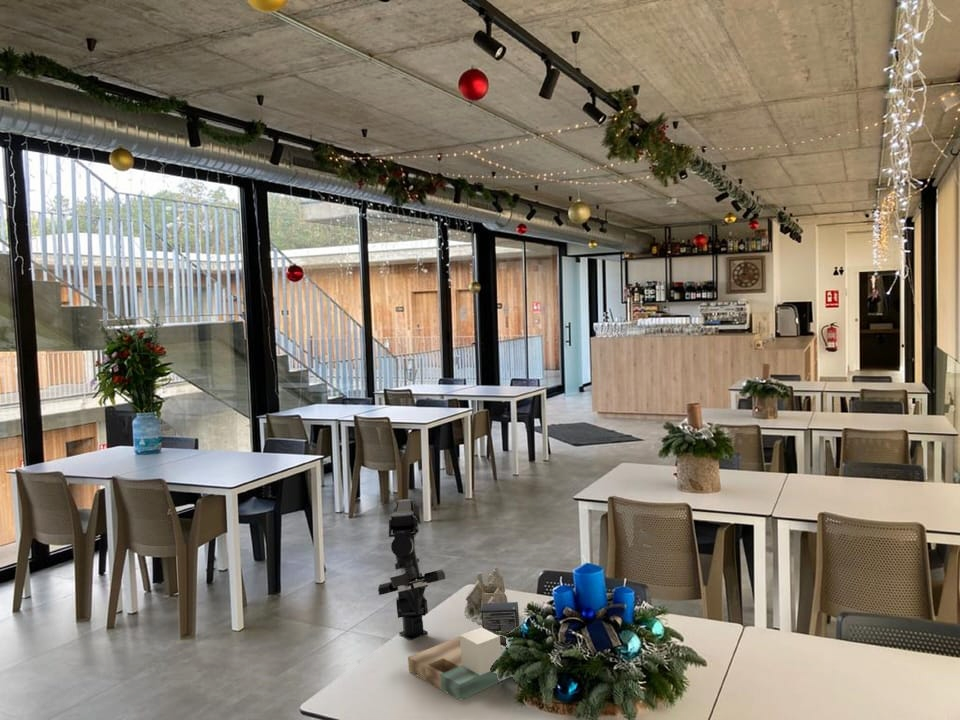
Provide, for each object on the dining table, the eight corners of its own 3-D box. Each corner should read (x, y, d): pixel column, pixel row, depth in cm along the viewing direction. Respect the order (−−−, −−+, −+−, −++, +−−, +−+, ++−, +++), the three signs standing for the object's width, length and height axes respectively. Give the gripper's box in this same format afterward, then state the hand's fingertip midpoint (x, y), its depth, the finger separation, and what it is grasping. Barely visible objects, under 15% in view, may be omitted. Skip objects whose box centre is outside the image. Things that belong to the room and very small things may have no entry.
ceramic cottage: (471, 604, 251) (469, 561, 250) (518, 610, 245) (516, 565, 244) (453, 626, 237) (450, 580, 235) (502, 632, 231) (499, 585, 229)
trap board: (408, 671, 206) (407, 656, 205) (472, 645, 219) (471, 631, 219) (460, 700, 188) (459, 684, 188) (526, 670, 202) (525, 655, 201)
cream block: (462, 665, 198) (459, 635, 198) (483, 656, 202) (481, 627, 202) (479, 675, 192) (477, 644, 191) (501, 666, 196) (499, 636, 195)
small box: (520, 635, 224) (518, 600, 224) (519, 645, 218) (517, 609, 217) (485, 636, 225) (482, 602, 225) (483, 646, 219) (480, 610, 218)
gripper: (363, 567, 210) (375, 625, 206) (424, 551, 205) (436, 610, 201) (382, 563, 221) (393, 619, 217) (439, 549, 216) (452, 605, 212)
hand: (417, 613), depth 211 cm, fingers closed
